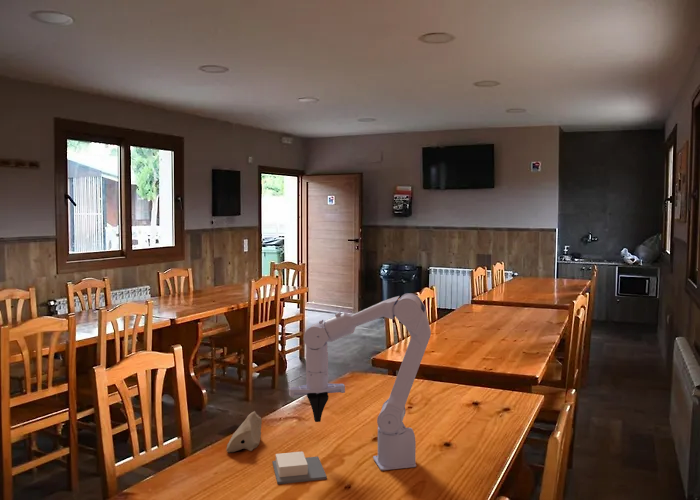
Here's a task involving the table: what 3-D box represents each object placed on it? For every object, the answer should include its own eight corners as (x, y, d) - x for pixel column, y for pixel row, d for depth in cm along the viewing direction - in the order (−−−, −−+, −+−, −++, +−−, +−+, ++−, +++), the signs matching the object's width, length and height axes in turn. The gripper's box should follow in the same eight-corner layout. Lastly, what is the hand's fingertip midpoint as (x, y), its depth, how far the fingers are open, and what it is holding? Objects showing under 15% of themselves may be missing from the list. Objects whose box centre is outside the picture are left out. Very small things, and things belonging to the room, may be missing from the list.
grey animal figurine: (265, 434, 174) (265, 407, 173) (254, 455, 159) (253, 425, 159) (238, 433, 174) (237, 406, 174) (223, 454, 160) (223, 424, 159)
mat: (318, 458, 157) (318, 456, 157) (326, 479, 146) (326, 476, 146) (272, 463, 155) (272, 460, 155) (277, 484, 143) (277, 481, 143)
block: (302, 451, 154) (275, 453, 153) (307, 464, 147) (279, 467, 145) (302, 460, 155) (275, 463, 153) (307, 474, 147) (279, 477, 145)
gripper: (340, 364, 162) (341, 413, 163) (287, 367, 159) (287, 417, 160) (346, 371, 155) (346, 422, 156) (291, 375, 152) (291, 427, 153)
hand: (317, 420), depth 157 cm, fingers closed
